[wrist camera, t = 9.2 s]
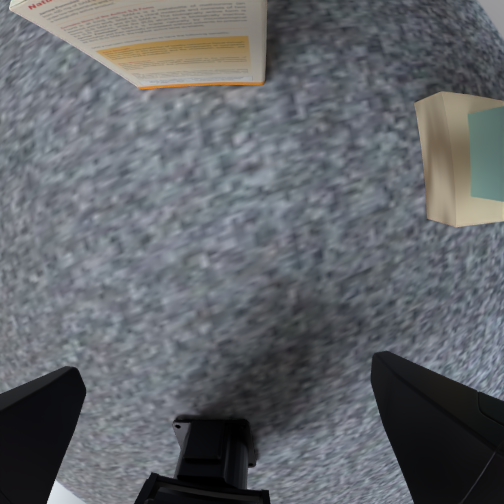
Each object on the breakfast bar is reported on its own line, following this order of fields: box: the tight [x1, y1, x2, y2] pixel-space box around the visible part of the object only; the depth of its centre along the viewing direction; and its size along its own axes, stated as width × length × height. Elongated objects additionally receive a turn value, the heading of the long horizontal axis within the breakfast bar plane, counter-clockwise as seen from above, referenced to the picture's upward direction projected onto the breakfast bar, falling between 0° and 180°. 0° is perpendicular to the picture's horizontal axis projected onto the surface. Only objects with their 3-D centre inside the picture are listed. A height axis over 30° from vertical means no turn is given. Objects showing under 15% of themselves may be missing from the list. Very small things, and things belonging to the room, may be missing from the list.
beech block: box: [414, 91, 504, 227], centre depth 16 cm, size 8×8×4 cm
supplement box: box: [9, 0, 267, 89], centre depth 10 cm, size 8×5×13 cm, turn 87°
